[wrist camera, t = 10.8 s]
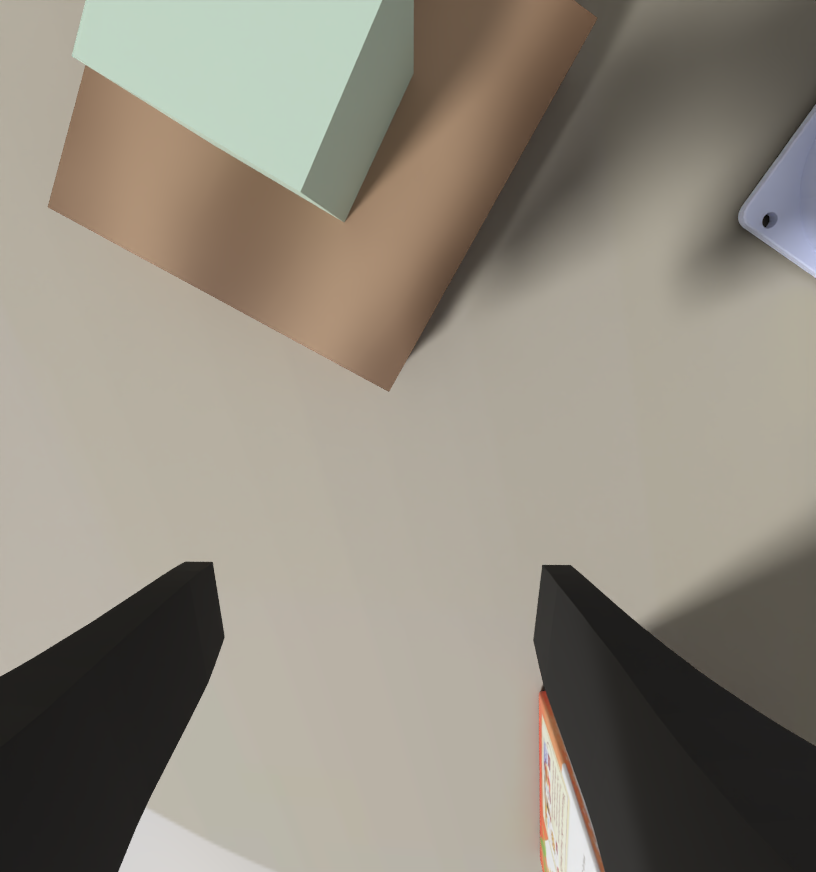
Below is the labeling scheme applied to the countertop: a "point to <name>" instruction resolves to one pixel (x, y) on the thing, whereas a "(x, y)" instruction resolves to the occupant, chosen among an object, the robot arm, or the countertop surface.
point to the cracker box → (562, 805)
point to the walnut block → (375, 202)
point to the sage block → (265, 79)
